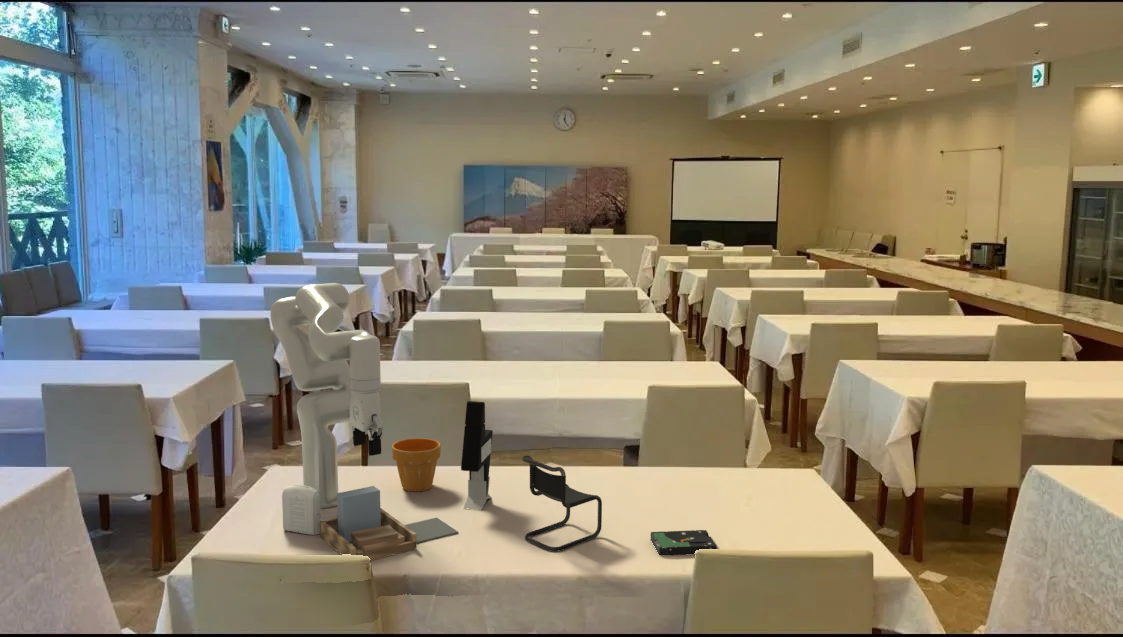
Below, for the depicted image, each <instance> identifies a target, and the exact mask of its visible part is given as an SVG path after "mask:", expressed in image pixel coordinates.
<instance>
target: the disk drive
mask: <svg viewBox="0 0 1123 637" xmlns="http://www.w3.org/2000/svg"><path fill="white" fill-rule="evenodd" d="M651 541H652V542H651ZM650 542H651V543H653V544H652V546H653V545H654V546H655V547H654V546H653V547H654V549H655V548H656V549H655V551H656V550H657V551H656V553H657V552H658V553H657V555H658V554H659V555H671V556H687V555H686V554H694V553H695V551H696V550H699V549H717V548H718V546H717V544H716V542H715V540H714V539H713V538H712V537H711V536H709V532H708V531H707V530H706V529H705V530H704V529H698V530H694V529H692V530H674V531H673V530H668V531H664V530H663V531H650ZM717 550H718V549H717ZM659 555H658V556H659ZM694 555H695V554H694Z"/></svg>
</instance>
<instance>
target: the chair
mask: <svg viewBox="0 0 1123 637" xmlns="http://www.w3.org/2000/svg"><path fill="white" fill-rule="evenodd" d="M521 460H522V461H523V462H524V463H527V464H529V490H530V492H531V494H532V495H534V496H537V497H539V496H542V495H543V496H544V497H546V498H549V499H551V500H553V501H556V502H560V503H561V504H562V506H563V508H565V509H566V512H565V517H564V519H563V520H561V521H558V522H556V523H552V524H550V525H546V526H544V527H540V528H538V529H536V530H535V529H534V530H532V531H530V532H529V531H528V532H527V533H526V534H525V535H524V539H525V541H527V542H528V543H530V544H533V545H534V546H537V547H538V548H539V547H540V548H541V549H543V548H544V549H543V550H545V549H546V551H548V550H551V551H550V552H559V551H558V550H561V551H563V549H564V550H566V549H569V548H571V546H572V547H574V546H576V545H579V544H581V543H584V542H587V541H590V540H593V539H596V538H597V537H598V536H599V534H600V532H601V530H602V526H603V525H602V524H603V523H602V522H603V516H602V513H603V511H602V510H603V501H602V498H601V497H600V496H599V495H596V494H590V493H589V494H588V493H585V492H581V491H578V490H576V489H574V488H572V487H570V486H569V485H568V484H567V483H566V482H567V474H566V470H565V469H564V468H563V467H561V466H556V467H555V466H550V465H547V464H544V463H541V462H540V461H539V462H538V461H536V460H534V459H533V458H532V457H531V455H523V456H522V457H521ZM542 469H543V470H542ZM544 470H546V471H550V472H552V473H549V472H546V471H544ZM553 472H560V475H559V474H553ZM594 500H596V501H597V524H596V525H597V526H596V530H595V531H594V533H592V534H589V535H587V536H584V537H581V538H578V539H576V540H572V541H569V542H568V543H565V544H563V545H560V546H559V545H558V546H549V545H547V544H544V543H542V542H540V541H538V540H536V539H533V538H531V537H533V536H536V535H539V534H542V533H545V532H547V530H548V531H550V530H553V529H555V527H556V528H559V527H562V526H564V525H565V524H567V523H568V521H569V519H570V517H571V508H574V507H577V506H580V505H583V504H586V503H589V502H592V501H594ZM561 525H562V526H561ZM544 531H545V532H544Z"/></svg>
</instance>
